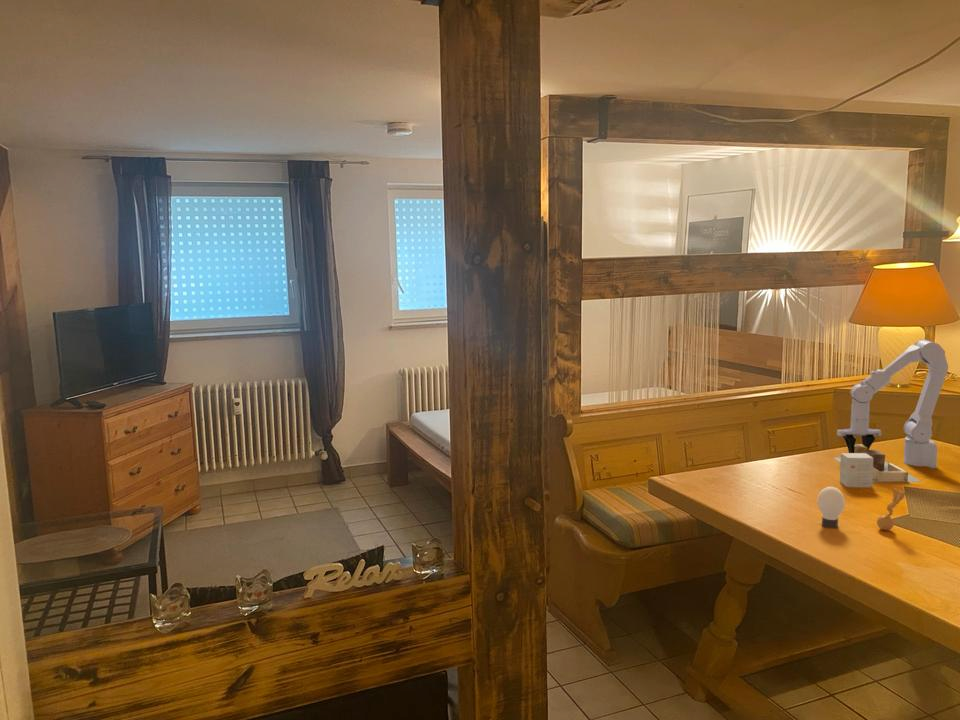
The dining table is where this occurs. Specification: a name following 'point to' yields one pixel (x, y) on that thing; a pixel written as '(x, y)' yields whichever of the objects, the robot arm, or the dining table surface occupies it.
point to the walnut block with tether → (876, 454)
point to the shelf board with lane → (890, 474)
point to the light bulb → (830, 506)
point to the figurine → (890, 511)
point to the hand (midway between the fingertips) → (857, 455)
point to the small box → (856, 470)
